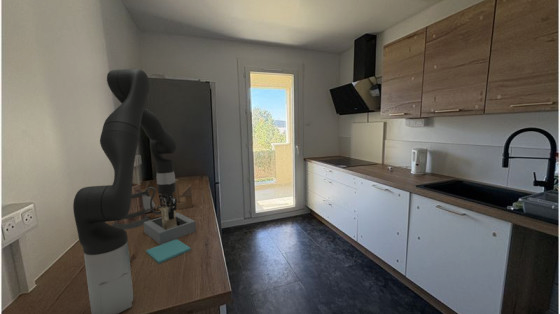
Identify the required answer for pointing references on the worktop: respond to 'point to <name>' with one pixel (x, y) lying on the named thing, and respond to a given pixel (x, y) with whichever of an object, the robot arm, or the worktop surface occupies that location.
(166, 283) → the worktop surface
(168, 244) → the mat
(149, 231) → the open gray rectangular frame
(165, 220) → the birch block
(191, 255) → the worktop surface
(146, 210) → the coffee pot
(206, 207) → the worktop surface
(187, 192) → the wooden block
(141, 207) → the tankard
